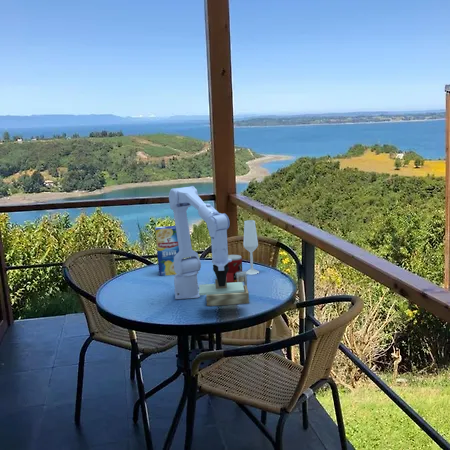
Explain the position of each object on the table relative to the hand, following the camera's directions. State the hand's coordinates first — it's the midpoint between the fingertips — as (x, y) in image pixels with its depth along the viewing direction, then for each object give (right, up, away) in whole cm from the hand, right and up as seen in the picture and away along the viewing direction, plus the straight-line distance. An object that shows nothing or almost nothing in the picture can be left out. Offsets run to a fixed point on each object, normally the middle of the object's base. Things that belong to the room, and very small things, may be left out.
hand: (221, 284), depth 184 cm
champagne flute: (+14, 0, +50) cm, 52 cm away
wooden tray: (+2, -8, +14) cm, 16 cm away
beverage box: (-25, -1, +57) cm, 62 cm away
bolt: (+8, 0, +23) cm, 24 cm away
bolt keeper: (+8, -5, +23) cm, 25 cm away
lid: (0, -2, 0) cm, 2 cm away
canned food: (+5, -3, +38) cm, 39 cm away
